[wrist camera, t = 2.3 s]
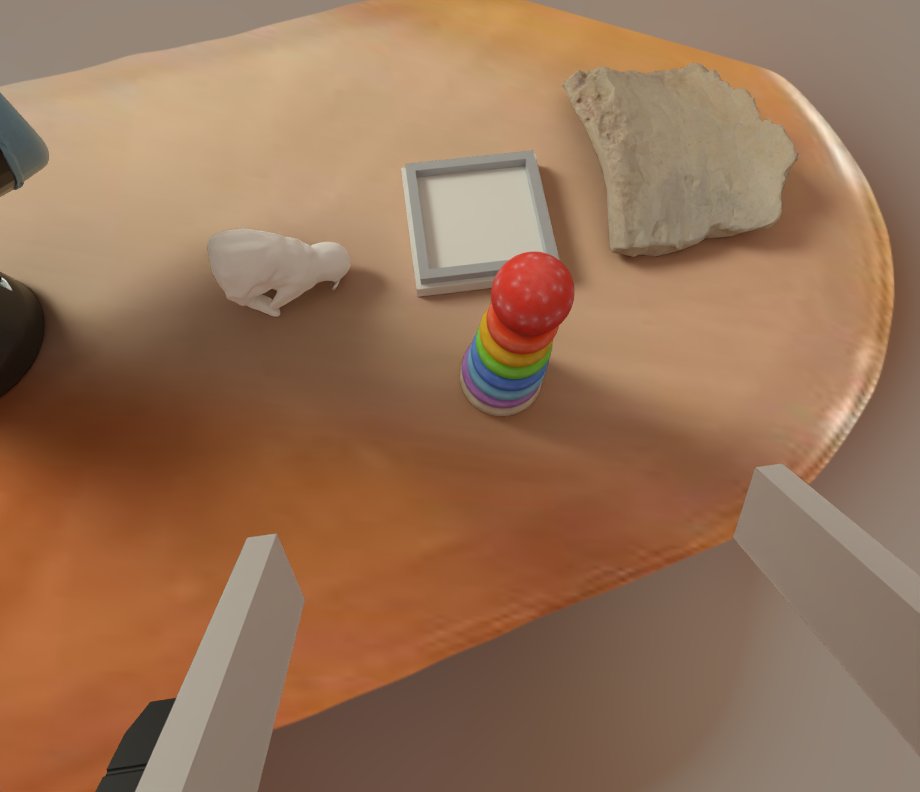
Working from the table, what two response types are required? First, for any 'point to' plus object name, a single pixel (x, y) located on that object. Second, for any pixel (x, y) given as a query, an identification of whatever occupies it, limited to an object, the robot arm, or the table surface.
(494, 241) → the tray
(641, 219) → the tablet
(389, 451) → the table surface
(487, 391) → the stacking toy
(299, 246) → the lumpy white figurine
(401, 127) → the table surface
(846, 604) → the robot arm
